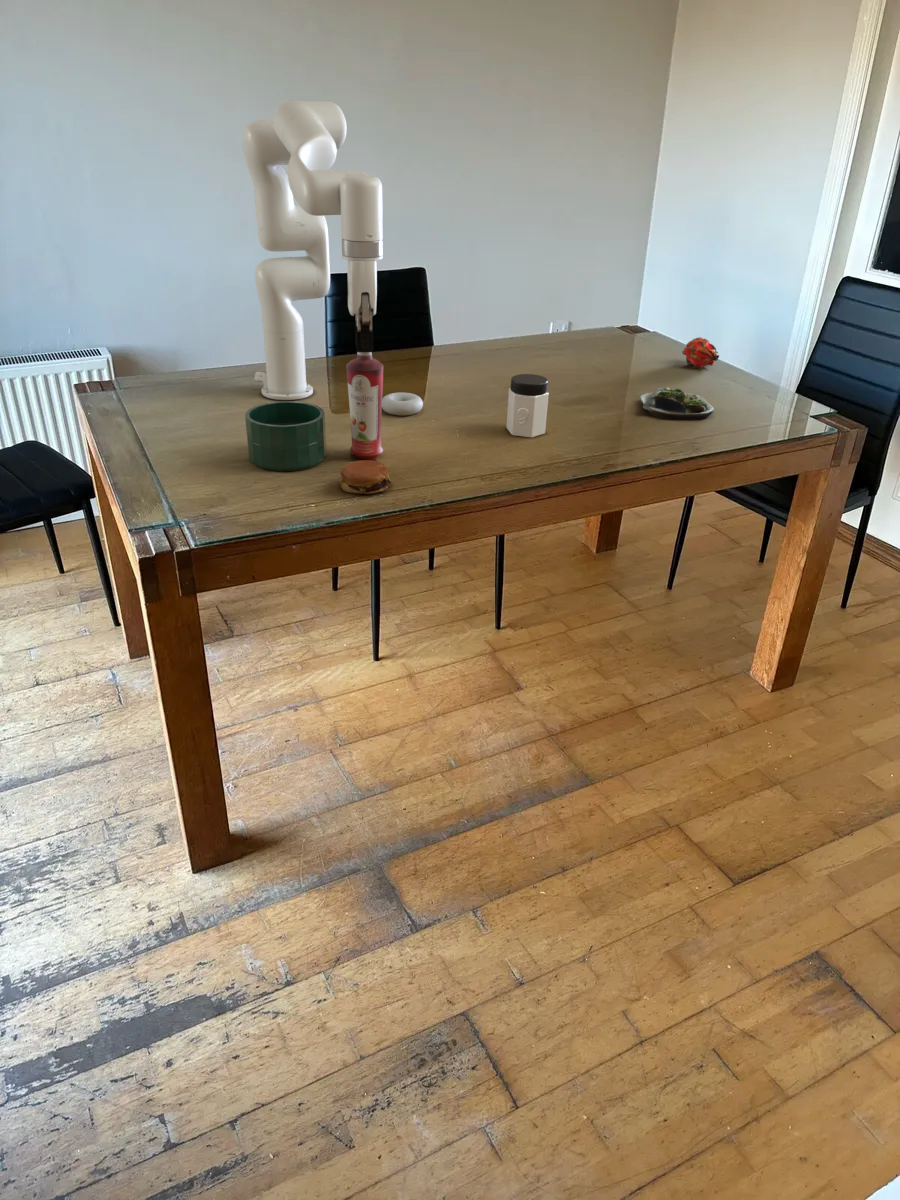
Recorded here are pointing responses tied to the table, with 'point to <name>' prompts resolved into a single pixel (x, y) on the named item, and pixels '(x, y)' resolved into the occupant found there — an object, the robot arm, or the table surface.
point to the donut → (402, 404)
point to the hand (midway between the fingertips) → (364, 348)
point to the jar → (527, 405)
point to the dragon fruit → (700, 353)
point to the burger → (365, 477)
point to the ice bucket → (286, 435)
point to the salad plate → (676, 405)
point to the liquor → (365, 404)
